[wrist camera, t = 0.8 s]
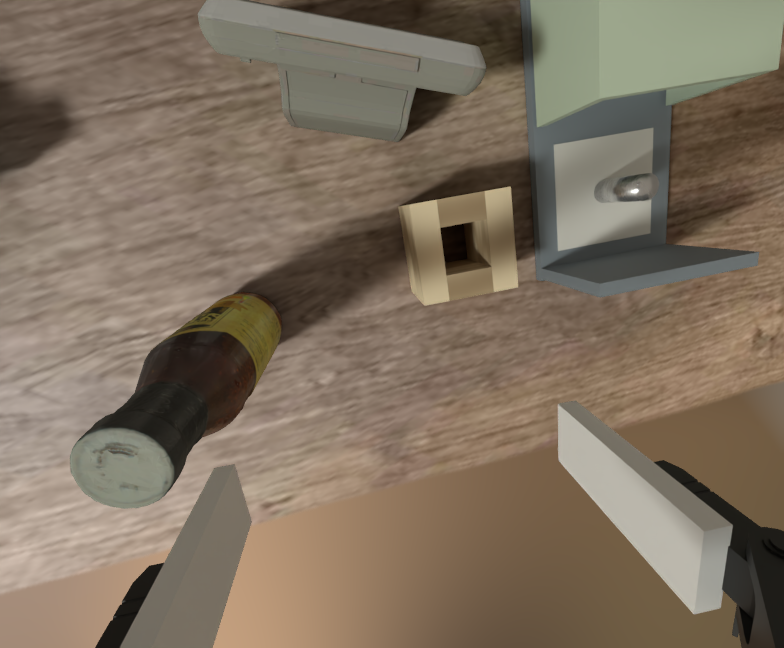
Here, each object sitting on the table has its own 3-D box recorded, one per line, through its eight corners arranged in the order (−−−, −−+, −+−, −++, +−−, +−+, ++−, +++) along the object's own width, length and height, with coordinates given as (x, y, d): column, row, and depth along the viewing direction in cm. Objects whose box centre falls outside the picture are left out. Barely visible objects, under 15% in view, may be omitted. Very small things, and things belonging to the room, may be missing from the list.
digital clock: (461, 62, 30) (519, -15, 20) (424, 175, 32) (460, 157, 22) (257, -28, 27) (205, -172, 17) (230, 104, 29) (170, 45, 19)
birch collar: (398, 206, 33) (409, 204, 27) (482, 191, 33) (510, 186, 28) (411, 291, 35) (424, 305, 29) (490, 275, 36) (518, 287, 30)
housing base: (516, -56, 29) (595, -180, 20) (668, -76, 29) (810, -204, 20) (536, 279, 36) (599, 299, 27) (657, 255, 37) (757, 268, 28)
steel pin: (586, 182, 34) (634, 175, 28) (606, 178, 34) (659, 170, 29) (586, 205, 35) (634, 202, 29) (607, 201, 35) (658, 198, 29)
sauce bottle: (241, 275, 33) (99, 356, 14) (298, 320, 34) (242, 447, 16) (195, 330, 34) (2, 477, 15) (253, 371, 35) (148, 551, 16)
